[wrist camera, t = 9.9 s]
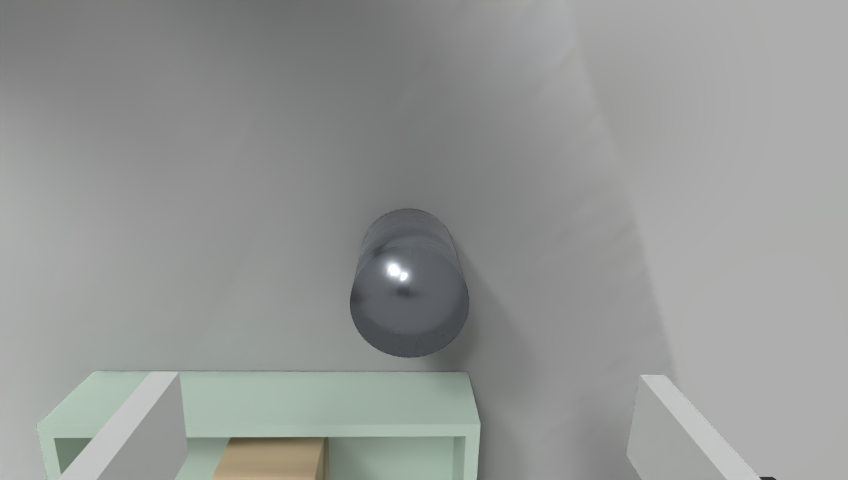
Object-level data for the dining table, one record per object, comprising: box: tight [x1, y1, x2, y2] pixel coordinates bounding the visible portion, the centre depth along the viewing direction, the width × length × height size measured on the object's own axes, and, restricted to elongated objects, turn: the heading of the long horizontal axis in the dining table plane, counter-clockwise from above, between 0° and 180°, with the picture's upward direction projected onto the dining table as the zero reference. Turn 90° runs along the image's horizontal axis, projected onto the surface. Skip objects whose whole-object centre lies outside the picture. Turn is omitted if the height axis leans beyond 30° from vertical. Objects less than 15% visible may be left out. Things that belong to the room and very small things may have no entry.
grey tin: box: [350, 209, 469, 358], centre depth 26 cm, size 5×5×7 cm
